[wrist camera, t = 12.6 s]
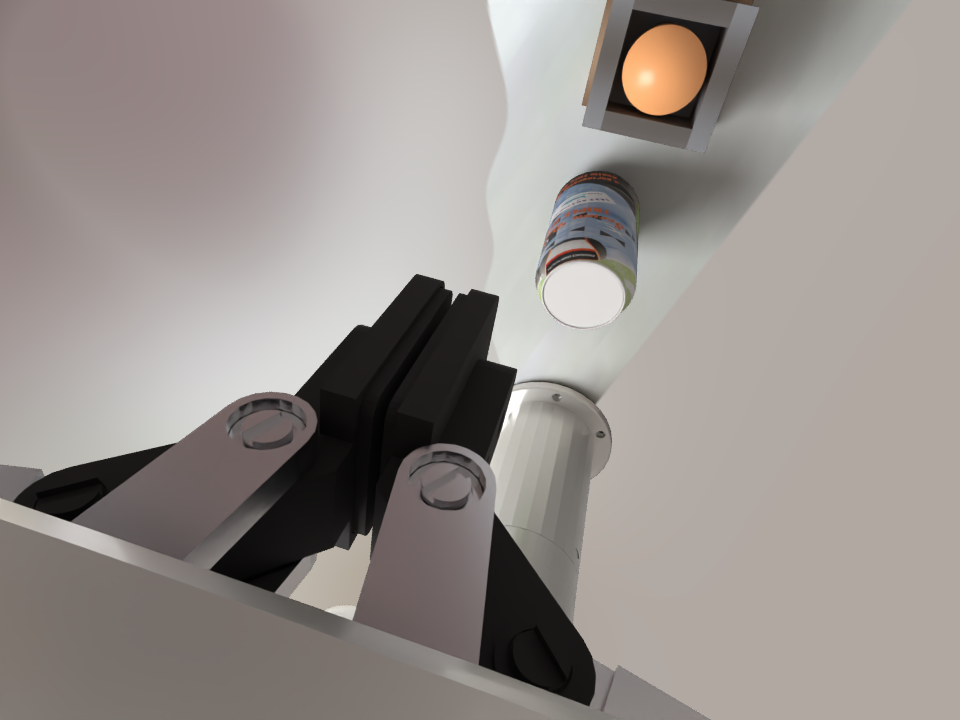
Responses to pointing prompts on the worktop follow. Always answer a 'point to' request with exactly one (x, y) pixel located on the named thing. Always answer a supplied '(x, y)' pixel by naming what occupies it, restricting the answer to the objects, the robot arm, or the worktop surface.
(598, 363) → the worktop surface
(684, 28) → the plunger
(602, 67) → the rail bench
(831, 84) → the worktop surface
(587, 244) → the beverage can
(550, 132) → the worktop surface
